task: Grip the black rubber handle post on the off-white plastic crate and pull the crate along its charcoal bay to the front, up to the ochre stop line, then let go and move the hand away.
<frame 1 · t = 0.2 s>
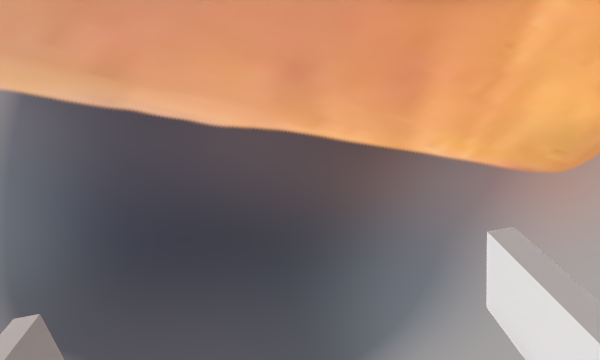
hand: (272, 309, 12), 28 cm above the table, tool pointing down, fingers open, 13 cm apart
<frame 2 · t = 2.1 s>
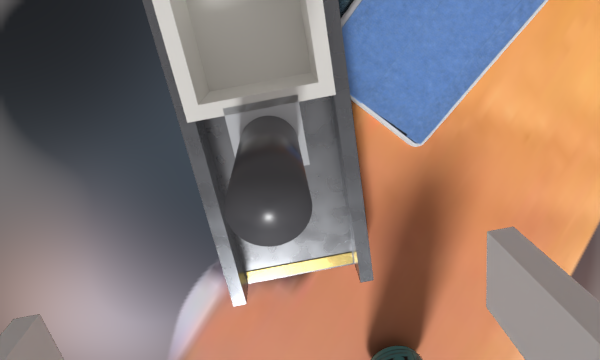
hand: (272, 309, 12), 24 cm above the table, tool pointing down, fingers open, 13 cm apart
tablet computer: (437, 13, 33), on the table
bay: (270, 124, 35), on the table
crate: (251, 70, 24), point 10 cm above the table, slide at 17.0 cm
beverage bottle: (390, 355, 46), on the table
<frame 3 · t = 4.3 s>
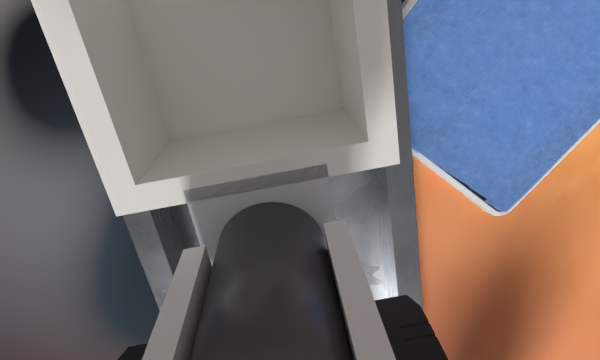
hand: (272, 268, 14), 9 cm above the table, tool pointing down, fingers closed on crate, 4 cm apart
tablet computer: (544, 9, 20), on the table
bay: (273, 184, 22), on the table
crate: (234, 129, 11), point 10 cm above the table, slide at 17.0 cm, touching gripper
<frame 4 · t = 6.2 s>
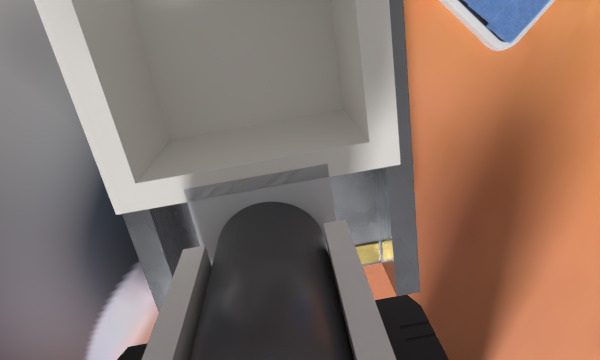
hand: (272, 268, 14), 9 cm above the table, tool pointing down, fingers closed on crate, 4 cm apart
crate: (236, 128, 11), point 9 cm above the table, slide at 7.5 cm, touching gripper
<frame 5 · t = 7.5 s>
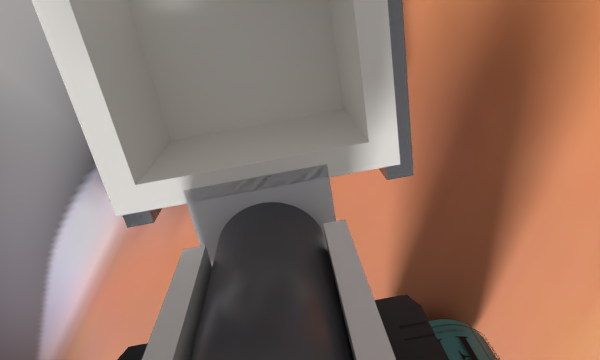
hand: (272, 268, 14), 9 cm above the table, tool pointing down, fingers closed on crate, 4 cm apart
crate: (235, 129, 11), point 9 cm above the table, slide at 1.1 cm, touching gripper
beverage bottle: (427, 337, 27), on the table
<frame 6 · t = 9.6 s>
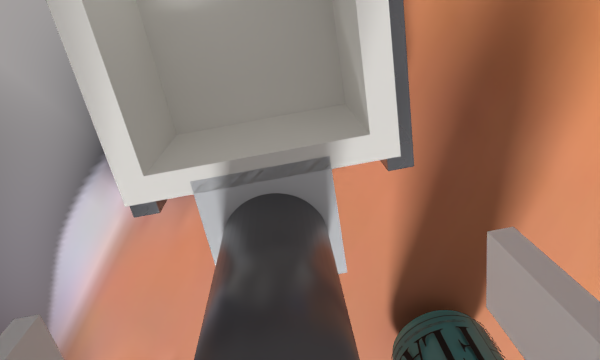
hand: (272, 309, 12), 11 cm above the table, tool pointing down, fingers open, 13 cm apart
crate: (240, 120, 11), point 10 cm above the table, slide at 1.0 cm
beverage bottle: (428, 328, 28), on the table
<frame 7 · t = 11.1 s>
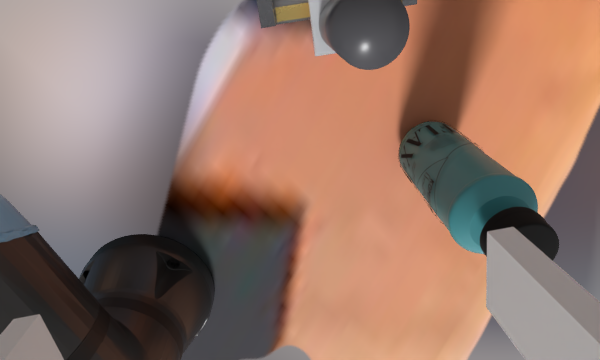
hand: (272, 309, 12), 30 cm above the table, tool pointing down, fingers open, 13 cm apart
beverage bottle: (422, 145, 42), on the table
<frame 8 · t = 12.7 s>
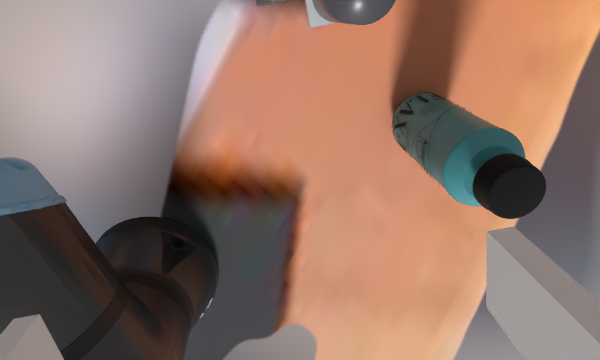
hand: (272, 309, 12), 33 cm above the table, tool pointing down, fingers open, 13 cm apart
beverage bottle: (414, 118, 44), on the table
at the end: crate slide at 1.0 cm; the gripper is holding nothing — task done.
